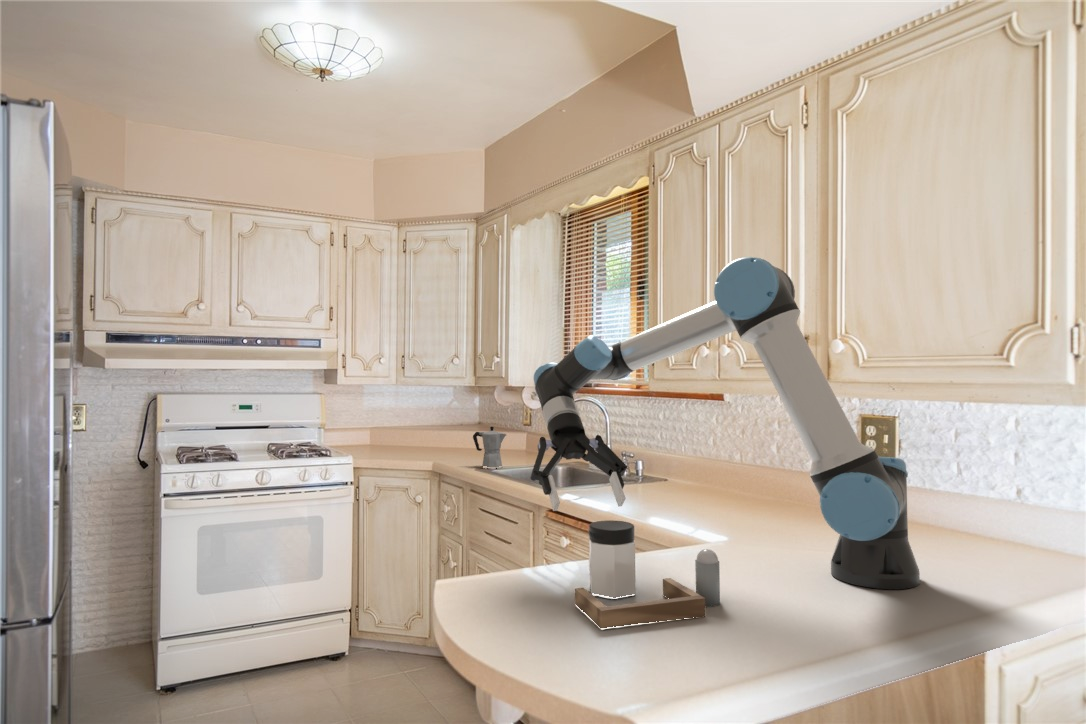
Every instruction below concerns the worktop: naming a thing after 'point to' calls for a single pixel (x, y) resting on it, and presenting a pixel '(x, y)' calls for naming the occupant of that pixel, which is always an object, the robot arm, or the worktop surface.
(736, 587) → the worktop surface
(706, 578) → the shaker
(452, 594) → the worktop surface
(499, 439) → the coffeepot
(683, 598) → the dock
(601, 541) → the jar
